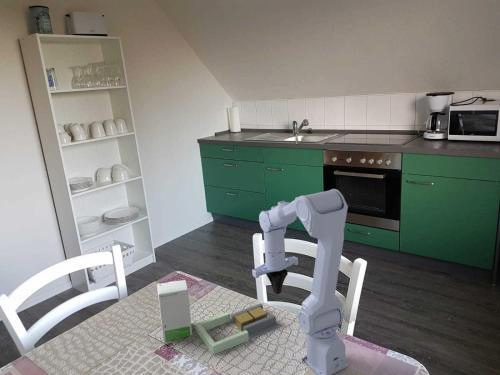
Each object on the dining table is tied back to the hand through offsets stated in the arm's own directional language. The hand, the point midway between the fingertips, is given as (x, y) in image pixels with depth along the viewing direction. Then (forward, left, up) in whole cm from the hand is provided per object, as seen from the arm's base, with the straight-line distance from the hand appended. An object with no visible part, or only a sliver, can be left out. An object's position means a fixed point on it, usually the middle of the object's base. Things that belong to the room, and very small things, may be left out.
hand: (277, 292), depth 118 cm
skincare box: (+9, +29, -8) cm, 31 cm away
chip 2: (0, +7, -7) cm, 10 cm away
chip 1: (0, +12, -7) cm, 13 cm away
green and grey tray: (0, +14, -8) cm, 16 cm away
